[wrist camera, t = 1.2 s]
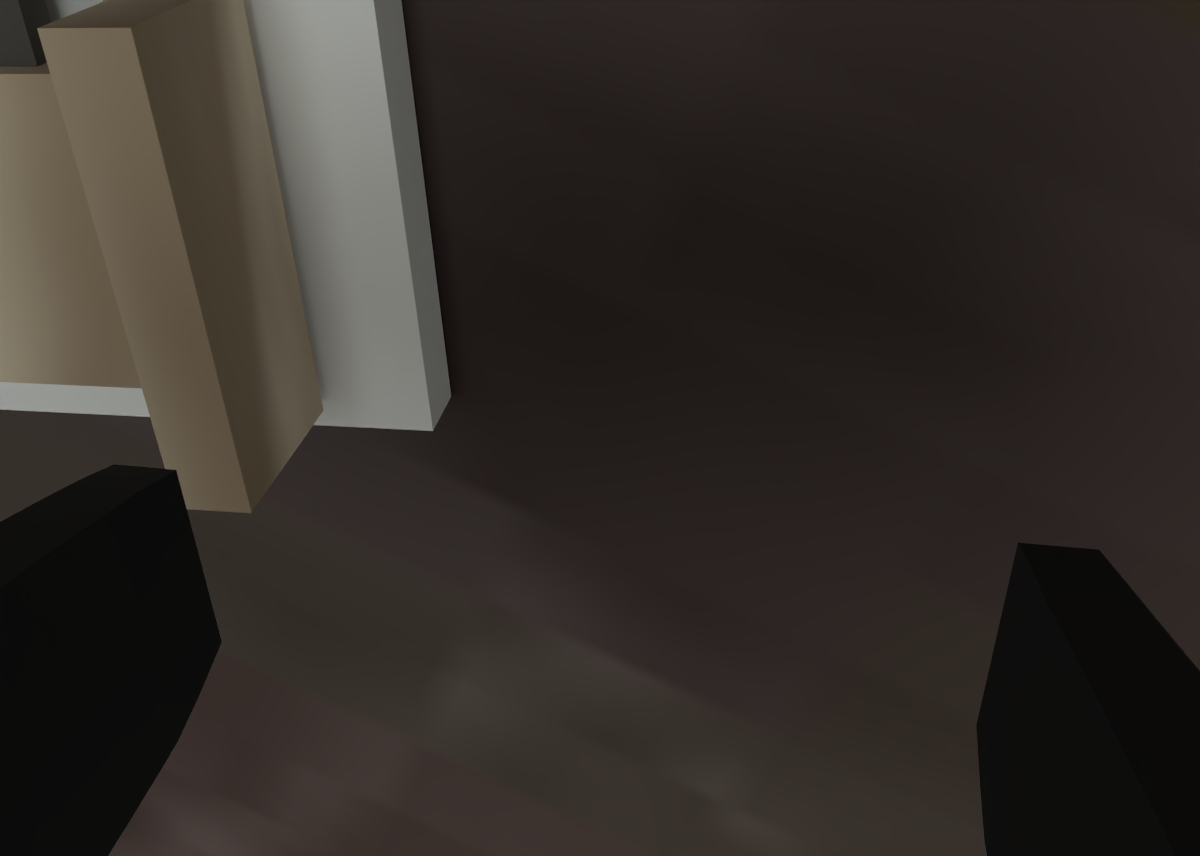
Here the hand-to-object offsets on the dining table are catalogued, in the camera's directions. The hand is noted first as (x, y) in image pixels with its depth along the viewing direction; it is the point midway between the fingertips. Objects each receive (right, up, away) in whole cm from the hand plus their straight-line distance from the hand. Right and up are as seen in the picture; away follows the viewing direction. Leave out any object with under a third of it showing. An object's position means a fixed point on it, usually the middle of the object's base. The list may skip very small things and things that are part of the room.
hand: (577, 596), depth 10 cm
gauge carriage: (-7, +6, +8) cm, 12 cm away
